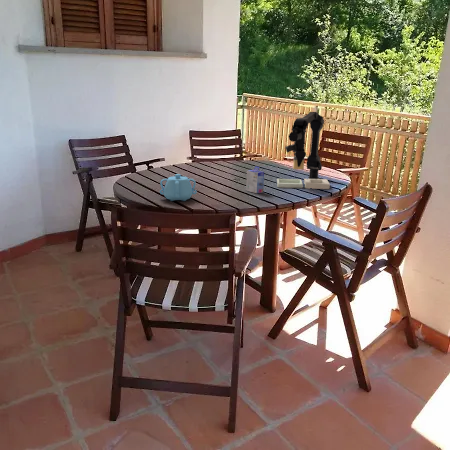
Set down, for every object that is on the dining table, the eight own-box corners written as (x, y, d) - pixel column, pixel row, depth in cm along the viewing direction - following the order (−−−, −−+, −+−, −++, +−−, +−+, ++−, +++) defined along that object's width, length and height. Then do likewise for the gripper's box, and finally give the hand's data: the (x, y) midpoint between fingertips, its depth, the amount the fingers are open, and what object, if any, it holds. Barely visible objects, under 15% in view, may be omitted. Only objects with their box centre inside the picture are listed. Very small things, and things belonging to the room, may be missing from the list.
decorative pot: (182, 194, 255) (181, 170, 251) (199, 199, 243) (199, 174, 239) (157, 198, 245) (156, 173, 241) (174, 204, 233) (173, 178, 229)
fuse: (293, 167, 276) (293, 156, 274) (302, 168, 276) (303, 156, 274) (293, 169, 272) (294, 157, 270) (303, 169, 272) (304, 157, 270)
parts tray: (277, 182, 285) (277, 178, 284) (300, 183, 284) (301, 179, 283) (277, 187, 272) (277, 183, 271) (302, 188, 271) (302, 184, 270)
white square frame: (304, 183, 284) (304, 178, 283) (326, 183, 283) (326, 179, 282) (305, 188, 270) (306, 183, 269) (329, 189, 269) (329, 184, 268)
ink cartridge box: (264, 192, 259) (264, 167, 255) (256, 193, 256) (257, 168, 252) (252, 189, 267) (253, 165, 262) (245, 190, 264) (246, 166, 259)
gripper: (285, 138, 278) (284, 163, 283) (287, 141, 260) (286, 168, 265) (303, 138, 277) (301, 163, 282) (306, 142, 260) (305, 168, 264)
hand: (298, 166), depth 273 cm, fingers closed on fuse, 4 cm apart
